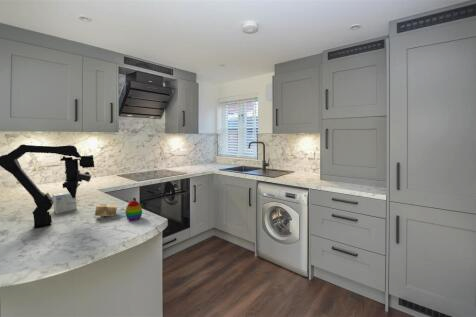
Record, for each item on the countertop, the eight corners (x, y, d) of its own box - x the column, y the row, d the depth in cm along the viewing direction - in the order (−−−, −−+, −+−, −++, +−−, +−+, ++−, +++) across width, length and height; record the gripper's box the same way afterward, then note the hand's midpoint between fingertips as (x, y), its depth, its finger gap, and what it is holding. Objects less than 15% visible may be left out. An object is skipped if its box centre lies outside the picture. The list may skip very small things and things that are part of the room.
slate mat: (100, 220, 132) (100, 217, 132) (101, 215, 141) (101, 212, 141) (126, 216, 138) (125, 213, 138) (125, 211, 147) (125, 209, 147)
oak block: (96, 206, 133) (117, 207, 137) (97, 203, 138) (117, 204, 143) (94, 215, 133) (115, 216, 137) (95, 212, 138) (115, 213, 143)
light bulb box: (73, 207, 158) (72, 190, 157) (77, 209, 154) (76, 192, 153) (53, 211, 150) (51, 194, 149) (56, 213, 146) (55, 195, 145)
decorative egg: (123, 219, 133) (122, 201, 132) (137, 215, 139) (136, 197, 138) (130, 222, 128) (129, 203, 127) (145, 218, 134) (144, 200, 133)
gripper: (87, 169, 126) (89, 199, 127) (91, 166, 143) (93, 192, 144) (61, 171, 121) (63, 202, 123) (68, 167, 138) (70, 195, 139)
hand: (74, 198), depth 132 cm, fingers closed
